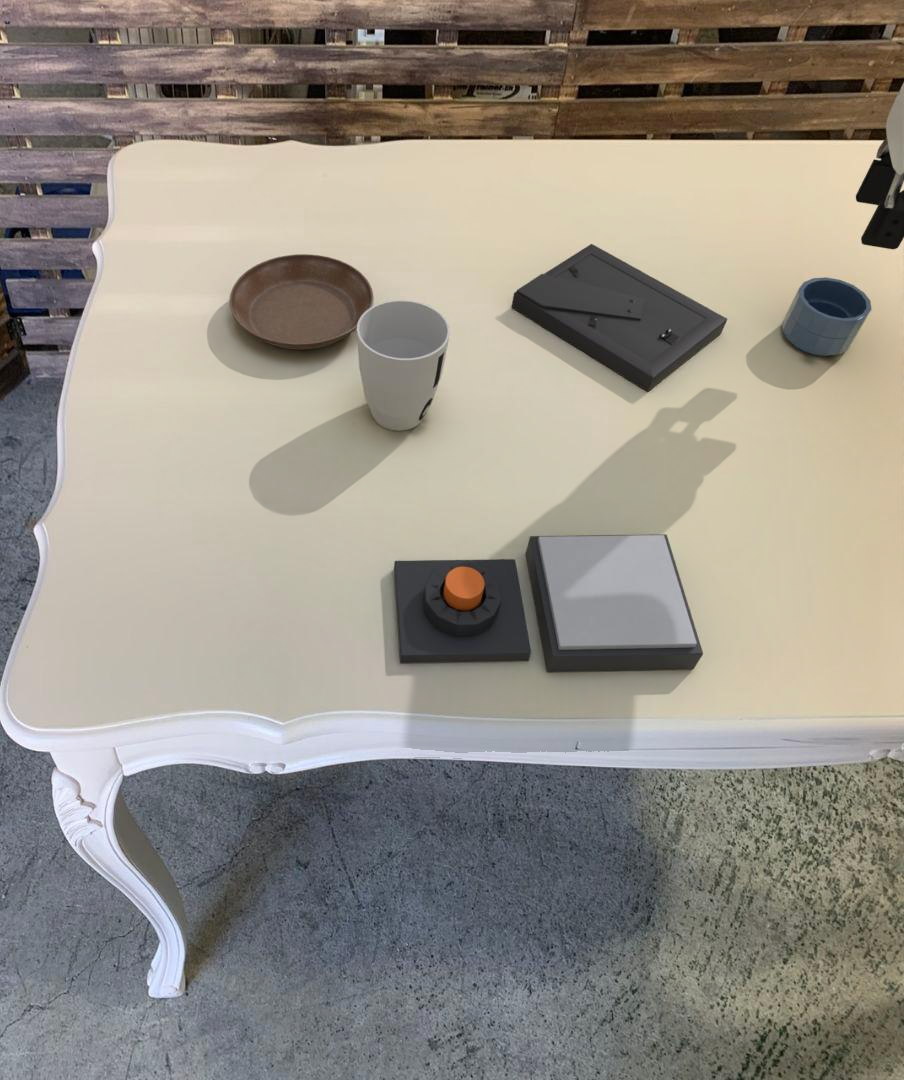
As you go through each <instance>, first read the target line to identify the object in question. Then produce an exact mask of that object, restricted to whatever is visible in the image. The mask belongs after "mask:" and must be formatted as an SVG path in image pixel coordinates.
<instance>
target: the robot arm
mask: <svg viewBox="0 0 904 1080" xmlns="http://www.w3.org/2000/svg"><path fill="white" fill-rule="evenodd" d="M885 133H886V137H885V138H884V140H883V141H882V143H880V145H879V147H878V149H877V152H876V156H875V157H876V159H873V160H872V162H871V163H870V166H869V168H868V170H867V172H866V174H865V176H864V178H863V180H862V182H861V184H860V186H859V188H858V190H857V192H856V194H855V201H856V202H857V203H862V204H867V205H874V206H877V207H876V209H875V210H874V212H873V214H872V216H871V218H870V220H869V222H868V223H867V226H866V228H865V230H864V232H863V233H862V236H861V237H860V242H861V245H863V246H869V247H875V248H882V249H888V250H896V249H898V248H899V247H900V245H901V243H902V242H903V240H904V189H903V190H902V187H903V185H904V82H903V83H902V85H901V87H900V89H899V91H898V92H897V95H896V97H895V99H894V102H893V103H892V106H891V109H890V111H889V114H888V115H887V119H886V124H885Z"/></svg>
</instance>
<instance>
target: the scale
mask: <svg viewBox="0 0 904 1080" xmlns="http://www.w3.org/2000/svg"><path fill="white" fill-rule="evenodd" d="M524 555H525V558H526V564H527V570H528V576H529V581H530V586H531V591H532V592H531V593H532V597H533V603H534V608H535V615H536V619H537V626H538V631H539V636H540V643H541V647H542V651H543V658H544V663H545V670H546V673H571V672H572V673H573V672H574V673H575V672H577V673H580V672H618V671H619V672H623V671H624V672H627V671H629V672H631V671H675V670H676V671H677V670H678V671H680V670H681V671H682V670H694V669H695V668H696V666H697V665H698V663H699V662H700V660H701V658H702V657H703V655H704V651H703V648H702V645H701V642H700V638H699V636H698V632H697V628H696V625H695V623H694V619H693V616H692V613H691V609H690V605H689V603H688V598H687V596H686V592H685V589H684V586H683V583H682V580H681V577H680V573H679V570H678V567H677V564H676V560H675V557H674V554H673V551H672V547H671V543H670V541H669V537H668V534H665V533H663V534H599V535H598V534H593V535H588V534H586V535H584V534H583V535H530V536H529V539H528V543H527V547H526V550H525V554H524Z"/></svg>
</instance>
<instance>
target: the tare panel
mask: <svg viewBox="0 0 904 1080" xmlns="http://www.w3.org/2000/svg"><path fill="white" fill-rule="evenodd" d="M457 567H470V568H473V569H475V570H476V571H478V572H479V573H480V574H481V575H482V577H483V579H484V584H485V585H484V590H483V594H482V599H481V602H480V603H479V605H478V606H477V607H475V608H474V609H472V610H468V611H460V610H456V609H454V608H452V607H451V606H449V605H448V604H447V602H446V601H445V599H444V595H443V592H444V586H445V580H446V576H447V574H448V573H449V572H450V571H451V570H453V569H455V568H457ZM393 576H394V590H395V591H394V592H395V605H396V621H397V622H396V623H397V636H398V649H399V663H400V664H413V663H414V664H421V663H425V664H426V663H429V664H430V663H475V662H477V663H478V662H481V663H482V662H483V663H484V662H528V661H530V658H531V655H532V650H531V645H530V639H529V633H528V628H527V621H526V616H525V609H524V604H523V597H522V593H521V592H522V591H521V586H520V580H519V573H518V569H517V562H516V559H515V558H501V559H500V558H497V559H496V558H495V559H494V558H493V559H492V558H491V559H490V558H489V559H430V560H429V559H428V560H426V559H425V560H424V559H423V560H422V559H421V560H394V564H393Z"/></svg>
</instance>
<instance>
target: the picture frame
mask: <svg viewBox="0 0 904 1080" xmlns="http://www.w3.org/2000/svg"><path fill="white" fill-rule="evenodd" d="M510 307H511V309H513V310H514V311H516V312H518V313H520V314H521V315H523V316H524V317H526V318H528V319H530V320H531V321H533V322H534V323H536V324H538V325H539V326H541V327H542V328H544V329H545V330H547V331H549V332H551V333H552V334H554V335H555V336H557V337H559V338H560V339H562V340H564V341H565V342H567V343H568V344H570V345H571V346H573V347H575V348H576V349H578V350H580V351H581V352H583V353H584V354H586V355H588V356H589V357H591V358H592V359H594V360H596V361H598V362H599V363H601V364H602V365H604V366H606V367H607V368H608V369H610V370H612V371H613V372H615V373H617V374H618V375H620V376H622V377H623V378H625V379H627V380H628V381H630V382H632V383H633V384H635V385H637V386H638V387H639V388H641V389H643V390H644V391H646V392H650V391H652V390H653V389H654V388H655V387H656V386H657V385H659V384H660V383H661V382H663V380H665V379H666V378H667V377H669V376H670V375H671V374H672V373H674V372H675V371H676V370H677V369H679V368H680V367H681V366H683V365H684V364H685V363H686V362H687V361H689V360H690V359H691V358H692V357H694V356H695V355H696V354H697V353H699V352H700V351H702V350H703V349H704V348H705V347H706V346H708V345H709V344H710V343H712V342H713V341H714V340H715V339H716V338H717V337H719V336H721V334H722V333H723V330H724V328H725V326H726V323H727V321H728V317H727V318H726V317H725V316H723V315H721V314H720V313H718V312H716V311H714V310H712V309H710V308H709V307H707V306H705V305H703V304H701V303H700V302H698V301H696V300H694V299H693V298H691V297H689V296H687V295H685V294H683V292H680V291H678V290H676V289H675V288H672V287H671V286H669V285H667V284H665V283H664V282H661V281H660V280H658V279H656V278H654V277H653V276H651V275H649V274H648V273H646V272H644V271H642V270H640V269H638V268H636V267H635V266H633V265H631V264H629V263H628V262H625V261H623V260H622V259H621V258H618V257H616V256H615V255H613V254H612V253H609V252H607V251H606V250H604V249H602V248H601V247H599V246H597V245H595V244H593V243H590V244H589V245H586V247H584V248H582V249H581V250H579V251H578V252H576V253H575V254H573V255H571V256H569V257H568V258H567V259H565V260H563V261H561V262H560V263H559V264H557V265H555V266H554V267H553V268H551V269H550V270H548V271H546V272H545V273H541V274H539V275H537V276H536V277H535V278H533V279H532V280H530V281H529V282H527V283H526V284H524V285H522V286H521V287H519V288H518V289H517V290H516V291H515V292H513V296H512V303H511V306H510Z"/></svg>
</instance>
